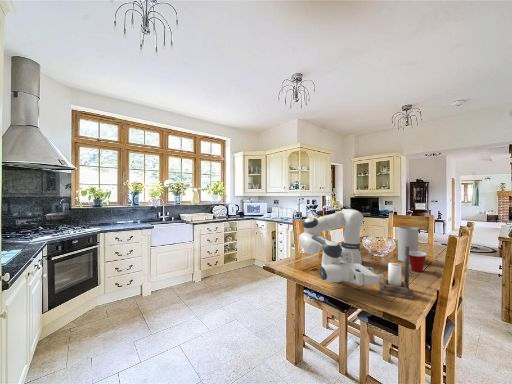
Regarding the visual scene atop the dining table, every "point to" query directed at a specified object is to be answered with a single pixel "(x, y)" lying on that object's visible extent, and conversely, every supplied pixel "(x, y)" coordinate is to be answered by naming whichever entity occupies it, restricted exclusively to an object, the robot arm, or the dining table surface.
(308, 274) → the dining table surface
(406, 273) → the roll holder
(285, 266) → the dining table surface
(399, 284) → the paper roll
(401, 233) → the cylinder vase
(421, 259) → the plastic cup
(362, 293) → the dining table surface
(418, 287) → the dining table surface
